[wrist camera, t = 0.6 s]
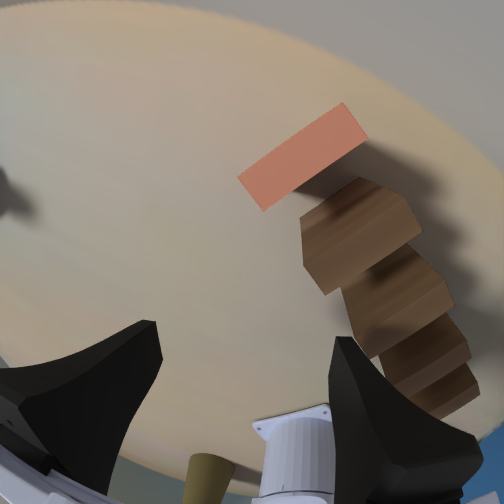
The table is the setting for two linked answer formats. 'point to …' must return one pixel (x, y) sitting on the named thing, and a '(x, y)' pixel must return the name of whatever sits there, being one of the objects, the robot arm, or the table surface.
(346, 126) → the tile
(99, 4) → the table surface
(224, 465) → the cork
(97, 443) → the robot arm
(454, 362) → the tile
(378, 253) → the tile
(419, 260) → the tile
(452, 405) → the tile
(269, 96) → the table surface
